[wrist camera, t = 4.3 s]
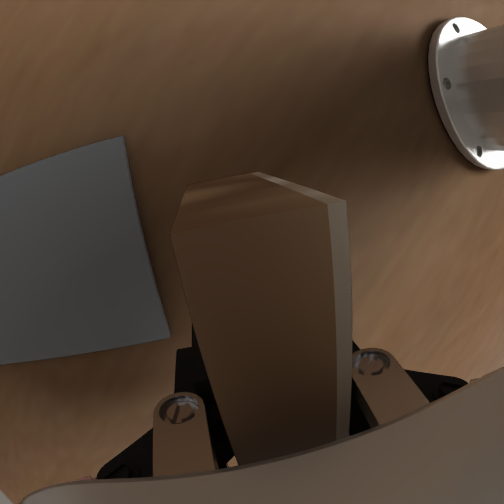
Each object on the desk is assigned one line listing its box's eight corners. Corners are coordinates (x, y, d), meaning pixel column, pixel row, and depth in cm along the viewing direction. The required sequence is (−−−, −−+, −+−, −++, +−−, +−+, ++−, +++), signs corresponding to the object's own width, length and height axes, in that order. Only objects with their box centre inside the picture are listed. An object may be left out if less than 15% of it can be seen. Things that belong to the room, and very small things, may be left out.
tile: (258, 172, 11) (346, 200, 4) (291, 405, 15) (338, 523, 8) (187, 184, 11) (169, 233, 4) (241, 417, 14) (269, 541, 8)
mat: (123, 136, 15) (121, 135, 14) (170, 332, 18) (170, 337, 17) (-72, 211, 12) (-77, 213, 12) (-20, 362, 15) (-23, 366, 15)
